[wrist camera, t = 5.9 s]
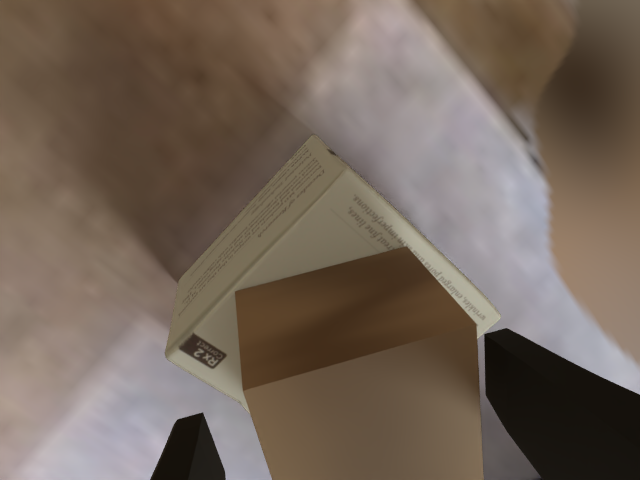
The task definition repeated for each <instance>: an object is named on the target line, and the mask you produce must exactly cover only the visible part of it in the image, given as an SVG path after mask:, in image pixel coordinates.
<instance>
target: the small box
mask: <svg viewBox="0 0 640 480" xmlns="http://www.w3.org/2000/svg"><path fill="white" fill-rule="evenodd" d="M405 246H407V247H408V248H409V249H410V250H411V251H412V252H413V254H414V255H415V256H416V257H417V258H418V259H419V260H420V261H421V262H422V264H423V265H424V266H425V267H426V268H427V269H428V270H429V271H430V273H431V274H432V275H433V276H434V277H435V278H436V279H437V280H438V281H439V283H440V284H441V285H442V286H443V287H444V288H445V289H446V290H447V291H448V293H449V294H450V295H451V296H452V297H453V298H454V299H455V300H456V302H457V303H458V304H459V305H460V306H461V307H462V308H463V309H464V310H465V312H466V313H467V314H468V315H469V316H470V317H471V318H472V319H473V321H474V322H475V323H476V324H477V339H478V338H479V337H480V336H481V335H483V334H484V333H485V332H486V331H487V330H488V329H489V328H490V327H491V326H493V325H494V324H495V323H496V322H497V321H498V320H500V317H501V315H500V313H499V312H498V311H497V310H496V308H495V307H494V306H493V304H492V303H491V302H490V301H489V300H488V298H487V297H486V296H485V295H484V294H483V293H482V292H481V291H480V290H479V289H478V288H477V287H476V286H475V285H474V284H473V283H472V282H471V281H470V280H469V279H468V278H467V277H466V276H465V275H464V274H463V273H462V272H461V271H460V270H459V269H458V268H457V267H455V266H454V265H453V264H452V263H451V262H450V261H449V260H448V259H447V258H446V257H445V256H444V255H443V254H442V253H441V252H440V251H439V250H438V249H437V248H436V247H435V246H434V245H433V244H432V243H431V242H430V241H429V240H428V239H427V238H426V237H425V236H424V235H422V234H421V233H420V232H419V231H418V230H417V229H416V228H415V227H414V226H413V225H412V224H411V223H410V222H409V221H408V220H407V219H406V218H405V217H404V216H402V215H401V214H400V213H399V212H398V211H397V210H396V209H395V208H394V207H393V206H392V205H391V204H390V203H389V202H388V201H386V200H385V199H384V198H383V197H382V196H381V195H380V194H379V193H378V192H377V191H375V190H374V189H373V188H372V187H371V186H370V185H369V184H368V183H367V182H366V181H365V180H363V179H362V178H361V177H360V176H359V175H358V174H357V173H356V172H355V171H354V170H353V169H352V168H350V167H349V166H348V165H347V164H346V163H345V162H344V161H343V160H342V159H341V158H340V157H338V156H337V155H336V154H335V153H334V152H333V151H332V150H331V149H330V148H329V147H328V146H327V145H326V144H325V143H323V142H322V141H321V140H320V139H319V138H318V137H317V136H316V135H311V136H310V138H309V139H308V140H307V141H306V142H305V143H304V144H303V145H302V147H301V148H300V149H299V150H298V151H297V152H296V153H295V154H294V155H293V156H292V157H291V158H290V160H289V161H288V162H287V163H286V164H285V165H284V166H283V167H282V168H281V169H280V170H279V171H278V172H277V174H276V175H275V176H274V177H273V178H272V179H271V180H270V181H269V182H268V183H267V184H266V185H265V187H264V188H263V189H262V190H261V191H260V192H259V193H258V194H257V195H256V196H255V197H254V199H253V200H252V201H251V202H250V203H249V204H248V205H247V206H246V207H245V208H244V209H243V210H242V212H241V213H240V214H239V215H238V216H237V217H236V218H235V219H234V220H233V221H232V222H231V224H230V225H229V226H228V227H227V228H226V229H225V230H224V231H223V232H222V233H221V234H220V236H219V237H218V238H217V239H216V240H215V241H214V242H213V243H212V244H211V245H210V247H209V248H208V249H207V250H206V251H205V252H204V253H203V254H202V255H201V256H200V257H199V259H198V260H197V261H196V262H195V263H194V264H193V265H192V266H191V267H190V268H189V269H188V270H187V271H186V273H185V274H184V275H183V276H182V277H181V278H180V280H179V282H178V287H177V293H176V300H175V305H174V310H173V316H172V322H171V327H170V332H169V337H168V341H167V346H166V350H165V356H166V358H167V359H168V360H169V361H171V362H172V363H174V364H175V365H177V366H179V367H180V368H182V369H183V370H185V371H187V372H188V373H190V374H192V375H193V376H195V377H196V378H198V379H200V380H202V381H203V382H205V383H207V384H208V385H210V386H212V387H213V388H215V389H217V390H219V391H220V392H222V393H224V394H225V395H227V396H229V397H231V398H232V399H234V400H236V401H237V402H238V403H240V404H241V405H242V406H243V407H244V408H245V410H247V412H248V413H249V414H250V411H249V408H248V405H247V402H246V399H245V396H244V393H243V389H242V376H241V363H240V351H239V338H238V325H237V313H236V300H235V291H238V290H242V289H246V288H250V287H253V286H257V285H261V284H265V283H269V282H272V281H276V280H280V279H284V278H288V277H291V276H295V275H299V274H303V273H307V272H310V271H314V270H318V269H322V268H326V267H329V266H333V265H337V264H341V263H345V262H348V261H352V260H356V259H360V258H364V257H367V256H371V255H375V254H379V253H383V252H386V251H390V250H394V249H398V248H402V247H405Z"/></svg>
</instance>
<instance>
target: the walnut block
mask: <svg viewBox="0 0 640 480" xmlns="http://www.w3.org/2000/svg"><path fill="white" fill-rule="evenodd" d="M235 300H236V313H237V325H238V338H239V351H240V363H241V376H242V389H243V393H244V396H245V399H246V402H247V405H248V408H249V411H250V414H251V417H252V420H253V423H254V426H255V429H256V432H257V435H258V438H259V441H260V444H261V447H262V450H263V453H264V456H265V459H266V462H267V465H268V468H269V471H270V474H271V477H272V480H484V479H483V457H482V434H481V412H480V390H479V368H478V345H477V324H476V323H475V322H474V321H473V319H472V318H471V317H470V316H469V315H468V314H467V313H466V312H465V310H464V309H463V308H462V307H461V306H460V305H459V304H458V303H457V302H456V300H455V299H454V298H453V297H452V296H451V295H450V294H449V293H448V291H447V290H446V289H445V288H444V287H443V286H442V285H441V284H440V283H439V281H438V280H437V279H436V278H435V277H434V276H433V275H432V274H431V273H430V271H429V270H428V269H427V268H426V267H425V266H424V265H423V264H422V262H421V261H420V260H419V259H418V258H417V257H416V256H415V255H414V254H413V252H412V251H411V250H410V249H409V248H408V247H407V246H405V247H402V248H398V249H394V250H390V251H386V252H383V253H379V254H375V255H371V256H367V257H364V258H360V259H356V260H352V261H348V262H345V263H341V264H337V265H333V266H329V267H326V268H322V269H318V270H314V271H310V272H307V273H303V274H299V275H295V276H291V277H288V278H284V279H280V280H276V281H272V282H269V283H265V284H261V285H257V286H253V287H250V288H246V289H242V290H238V291H235Z"/></svg>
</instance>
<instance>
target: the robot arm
mask: <svg viewBox="0 0 640 480" xmlns="http://www.w3.org/2000/svg"><path fill="white" fill-rule="evenodd" d="M484 341H485V386H486V396H487V398H488V400H489V402H490V403H491V405H492V407H493V409H494V410H495V412H496V414H497V416H498V417H499V419H500V421H501V422H502V424H503V426H504V427H505V429H506V431H507V432H508V433H509V435H510V436H511V437H512V439H513V440H514V441H515V443H516V444H517V445H518V447H519V448H520V450H521V451H522V452H523V454H524V455H525V456H526V458H527V459H528V460H529V461H530V463H531V464H532V465H533V467H534V468H535V469H536V471H537V472H538V473H539V475H540V476H541V477H542V479H543V480H640V395H639V394H637V393H635V392H632V391H630V390H628V389H626V388H624V387H621V386H619V385H617V384H615V383H613V382H610V381H608V380H606V379H604V378H602V377H600V376H598V375H596V374H594V373H592V372H590V371H588V370H586V369H584V368H582V367H580V366H578V365H576V364H574V363H572V362H570V361H568V360H566V359H564V358H562V357H560V356H558V355H557V354H555V353H553V352H551V351H549V350H547V349H545V348H543V347H542V346H540V345H538V344H536V343H534V342H532V341H530V340H529V339H527V338H525V337H523V336H521V335H519V334H517V333H515V332H513V331H511V330H509V329H507V328H505V329H502V330H498V331H494V332H491V333H487V334H484ZM150 480H226V478H225V470H224V468H223V465H222V462H221V460H220V457H219V454H218V452H217V449H216V446H215V444H214V441H213V438H212V435H211V433H210V430H209V427H208V425H207V422H206V419H205V417H204V414H203V413H199V414H196V415H192V416H188V417H185V418H181V419H178V420H177V421H176V422H175V424H174V426H173V428H172V431H171V433H170V436H169V438H168V440H167V443H166V445H165V448H164V450H163V452H162V455H161V457H160V459H159V461H158V464H157V466H156V468H155V470H154V472H153V475H152V477H151V479H150Z"/></svg>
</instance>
